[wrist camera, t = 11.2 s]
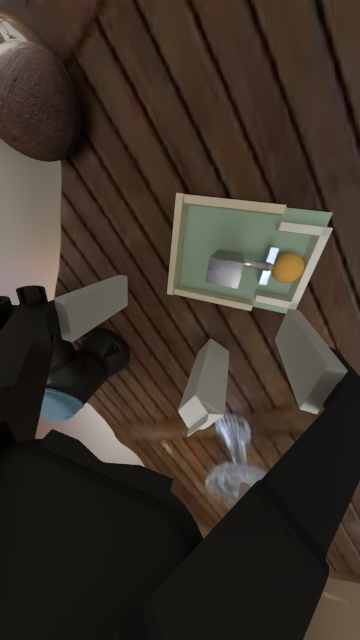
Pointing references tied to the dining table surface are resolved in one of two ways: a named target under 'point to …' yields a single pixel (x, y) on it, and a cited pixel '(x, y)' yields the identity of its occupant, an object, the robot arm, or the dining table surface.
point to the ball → (287, 267)
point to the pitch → (242, 248)
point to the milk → (206, 388)
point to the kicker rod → (238, 267)
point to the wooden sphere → (35, 94)
